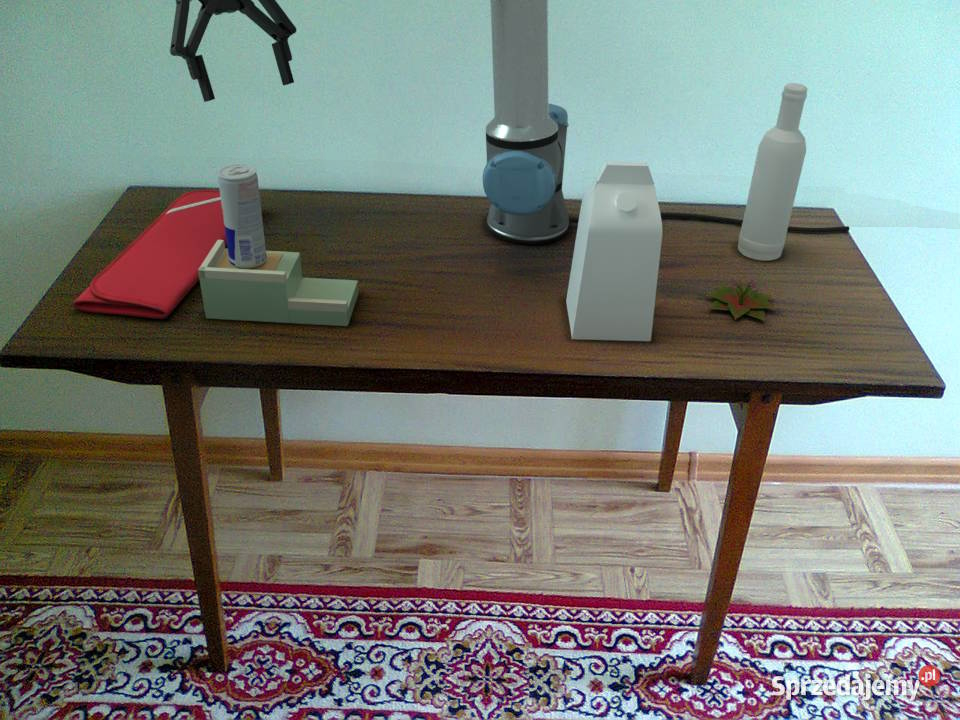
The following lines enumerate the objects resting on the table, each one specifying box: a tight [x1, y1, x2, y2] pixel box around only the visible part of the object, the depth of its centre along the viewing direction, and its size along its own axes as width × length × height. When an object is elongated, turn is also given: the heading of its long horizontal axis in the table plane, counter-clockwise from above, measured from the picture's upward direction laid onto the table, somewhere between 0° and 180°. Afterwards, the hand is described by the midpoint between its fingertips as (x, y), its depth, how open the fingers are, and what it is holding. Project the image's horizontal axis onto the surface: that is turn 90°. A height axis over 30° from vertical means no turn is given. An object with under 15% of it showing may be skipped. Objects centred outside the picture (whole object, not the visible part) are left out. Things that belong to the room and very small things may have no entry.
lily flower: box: [705, 276, 777, 322], centre depth 148 cm, size 12×12×5 cm
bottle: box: [737, 82, 808, 262], centre depth 157 cm, size 8×8×30 cm
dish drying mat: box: [73, 189, 227, 320], centre depth 156 cm, size 16×41×4 cm, turn 171°
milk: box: [565, 160, 663, 342], centre depth 137 cm, size 12×12×26 cm
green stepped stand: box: [198, 240, 360, 327], centre depth 142 cm, size 22×10×8 cm, turn 87°
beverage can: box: [217, 163, 267, 269], centre depth 137 cm, size 6×6×15 cm
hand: (250, 92), depth 143 cm, fingers open, 13 cm apart
